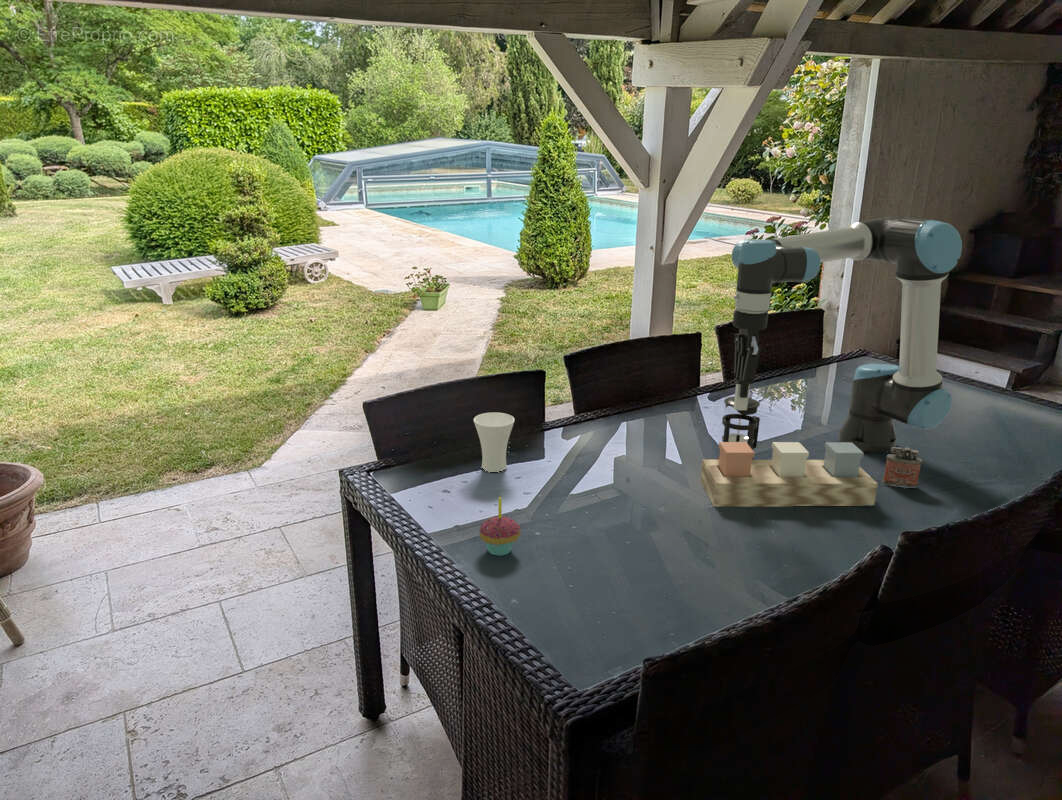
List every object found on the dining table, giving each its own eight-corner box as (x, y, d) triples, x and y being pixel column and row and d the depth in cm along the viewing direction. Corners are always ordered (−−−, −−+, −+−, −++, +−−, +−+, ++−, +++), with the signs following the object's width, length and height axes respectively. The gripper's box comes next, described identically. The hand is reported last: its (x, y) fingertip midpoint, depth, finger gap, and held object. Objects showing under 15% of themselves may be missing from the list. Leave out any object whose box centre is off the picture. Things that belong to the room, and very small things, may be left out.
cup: (521, 464, 202) (521, 416, 198) (503, 479, 193) (503, 429, 189) (485, 457, 206) (485, 409, 202) (466, 471, 197) (465, 422, 193)
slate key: (848, 466, 189) (851, 442, 187) (859, 477, 183) (863, 452, 181) (821, 466, 189) (825, 442, 187) (832, 477, 183) (836, 452, 181)
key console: (849, 481, 195) (852, 459, 193) (873, 506, 182) (877, 483, 180) (700, 481, 194) (702, 459, 192) (714, 506, 180) (716, 483, 178)
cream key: (795, 466, 189) (799, 442, 187) (805, 477, 183) (809, 452, 181) (769, 466, 189) (772, 442, 187) (778, 477, 182) (781, 452, 180)
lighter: (916, 485, 194) (923, 448, 190) (917, 490, 190) (925, 453, 187) (881, 480, 196) (887, 443, 193) (882, 485, 193) (889, 448, 190)
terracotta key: (743, 466, 189) (746, 442, 186) (751, 477, 182) (754, 452, 180) (716, 466, 188) (719, 441, 186) (723, 477, 182) (726, 452, 180)
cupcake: (479, 540, 164) (478, 489, 160) (519, 539, 164) (519, 488, 160) (480, 561, 156) (479, 508, 152) (522, 560, 156) (522, 507, 152)
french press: (732, 471, 200) (742, 387, 192) (708, 458, 207) (716, 377, 200) (765, 463, 205) (775, 381, 198) (740, 451, 213) (749, 371, 206)
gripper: (726, 303, 179) (717, 400, 186) (743, 316, 166) (731, 418, 174) (758, 304, 179) (747, 400, 186) (777, 316, 166) (764, 418, 174)
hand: (740, 409), depth 180 cm, fingers closed
